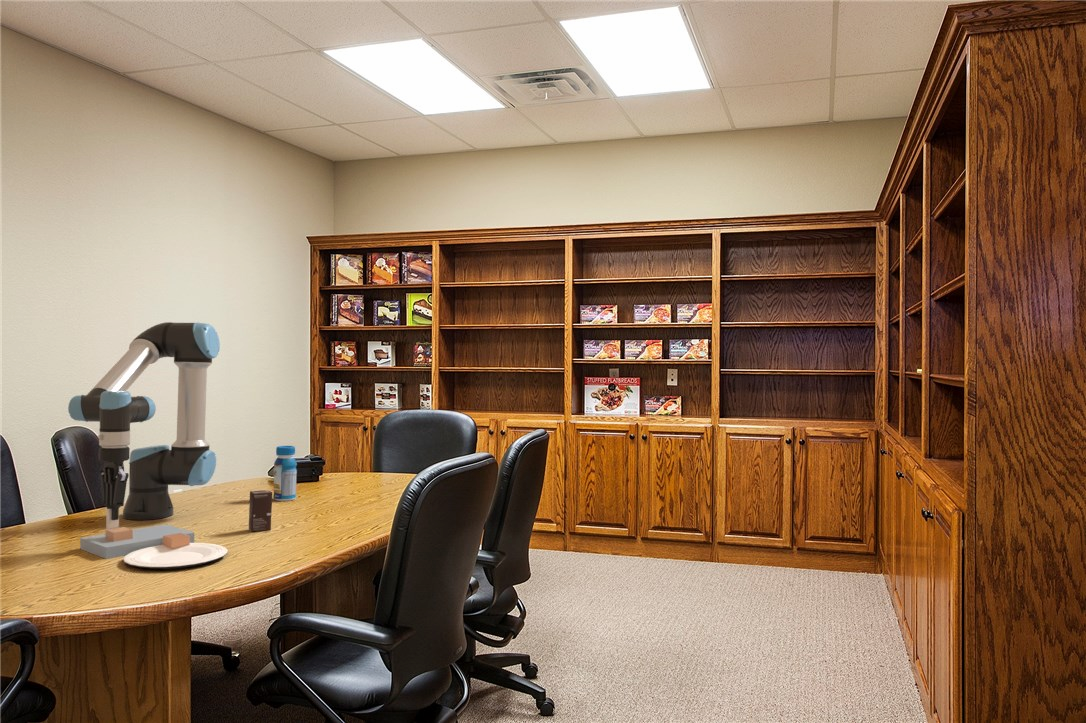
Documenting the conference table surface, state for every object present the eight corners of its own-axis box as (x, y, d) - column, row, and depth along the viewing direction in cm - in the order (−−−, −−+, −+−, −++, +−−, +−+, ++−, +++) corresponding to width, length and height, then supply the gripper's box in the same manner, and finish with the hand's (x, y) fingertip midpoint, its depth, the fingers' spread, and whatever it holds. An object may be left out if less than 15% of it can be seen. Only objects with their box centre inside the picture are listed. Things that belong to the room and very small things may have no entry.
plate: (159, 579, 187) (159, 571, 187) (103, 563, 201) (103, 556, 201) (247, 558, 209) (247, 551, 209) (191, 544, 222) (191, 538, 222)
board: (80, 548, 213) (80, 537, 213) (166, 534, 232) (166, 524, 232) (106, 558, 204) (106, 547, 204) (194, 542, 223) (194, 532, 223)
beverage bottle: (292, 501, 288) (293, 448, 288) (269, 501, 288) (270, 447, 288) (299, 497, 297) (300, 445, 297) (277, 497, 297) (278, 445, 297)
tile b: (105, 538, 213) (105, 529, 213) (124, 535, 217) (124, 526, 217) (113, 541, 210) (113, 532, 210) (132, 538, 214) (132, 529, 214)
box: (251, 532, 237) (252, 493, 237) (248, 529, 241) (249, 491, 241) (272, 530, 241) (272, 491, 241) (268, 527, 244) (269, 489, 244)
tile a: (162, 544, 213) (162, 535, 213) (180, 541, 217) (180, 532, 217) (171, 548, 210) (172, 538, 210) (189, 544, 214) (189, 535, 214)
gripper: (89, 445, 216) (88, 529, 216) (110, 449, 208) (108, 537, 208) (118, 443, 222) (116, 525, 222) (139, 447, 214) (137, 532, 214)
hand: (112, 531), depth 215 cm, fingers closed
